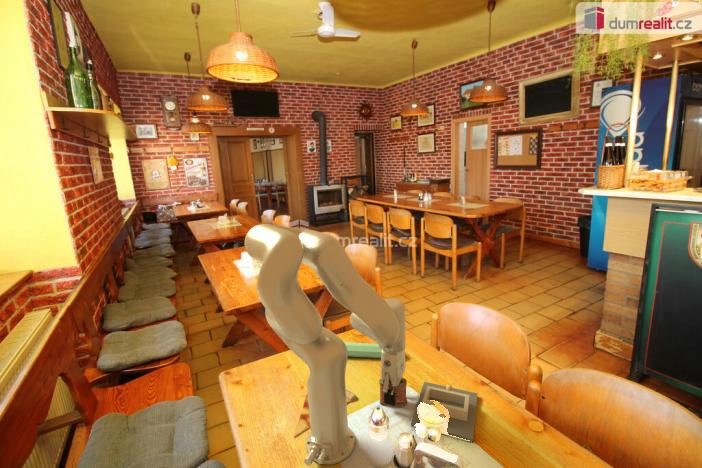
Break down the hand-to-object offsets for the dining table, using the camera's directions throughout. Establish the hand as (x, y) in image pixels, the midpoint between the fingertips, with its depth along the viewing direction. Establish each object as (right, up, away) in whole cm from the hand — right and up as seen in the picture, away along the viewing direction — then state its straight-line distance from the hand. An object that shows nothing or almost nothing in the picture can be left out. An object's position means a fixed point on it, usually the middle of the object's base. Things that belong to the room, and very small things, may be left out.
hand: (393, 395), depth 102 cm
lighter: (0, -3, +1) cm, 3 cm away
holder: (+15, -3, -4) cm, 15 cm away
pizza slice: (-24, -4, +2) cm, 25 cm away
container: (-7, +3, +25) cm, 26 cm away
